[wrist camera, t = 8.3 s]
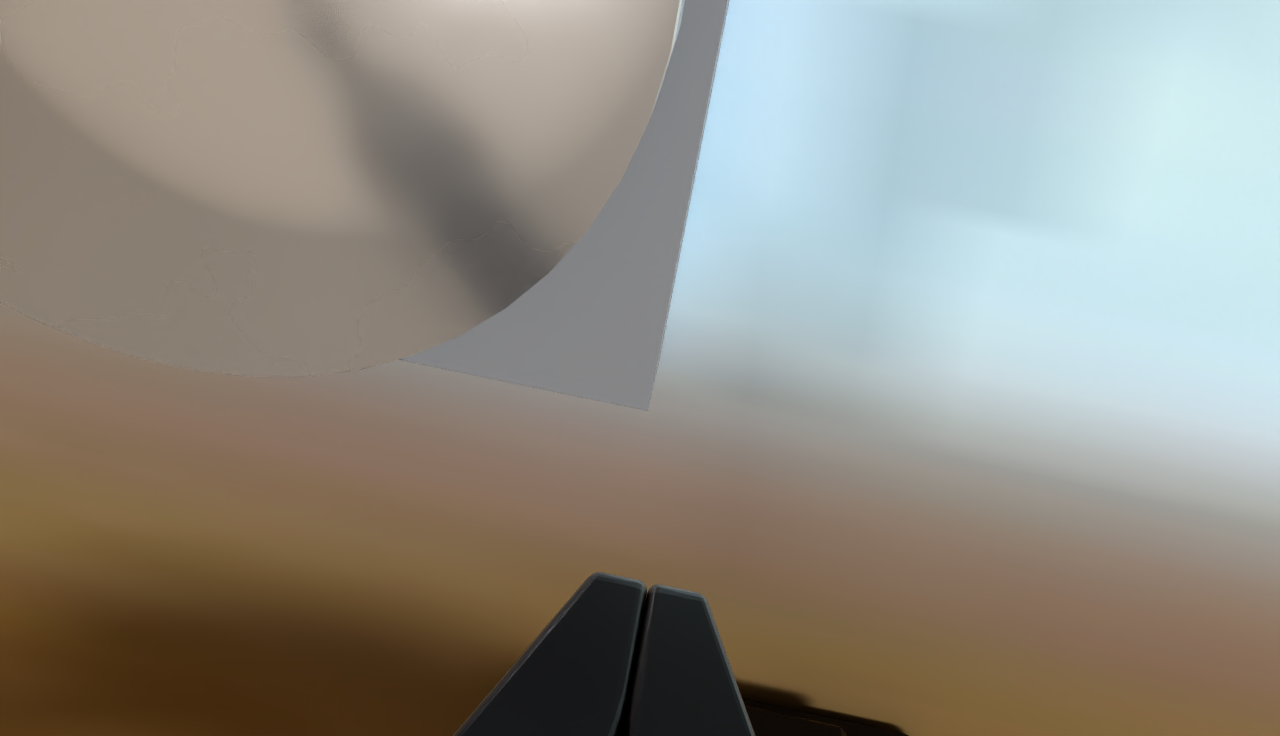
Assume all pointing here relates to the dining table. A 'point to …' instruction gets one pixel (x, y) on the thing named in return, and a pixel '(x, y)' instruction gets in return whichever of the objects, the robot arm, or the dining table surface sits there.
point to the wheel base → (611, 257)
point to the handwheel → (307, 167)
